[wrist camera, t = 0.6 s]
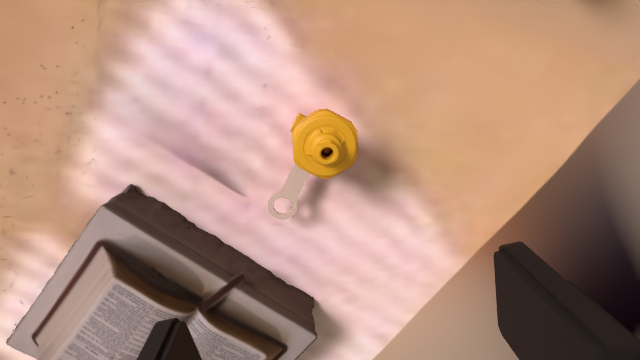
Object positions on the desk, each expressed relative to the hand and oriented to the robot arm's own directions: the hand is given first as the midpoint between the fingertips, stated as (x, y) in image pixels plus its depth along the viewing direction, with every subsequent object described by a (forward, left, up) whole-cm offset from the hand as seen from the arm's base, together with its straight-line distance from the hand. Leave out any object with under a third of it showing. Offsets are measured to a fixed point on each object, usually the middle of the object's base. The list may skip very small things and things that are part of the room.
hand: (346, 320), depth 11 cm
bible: (+16, -19, -28) cm, 37 cm away
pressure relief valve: (+3, -1, -27) cm, 28 cm away
